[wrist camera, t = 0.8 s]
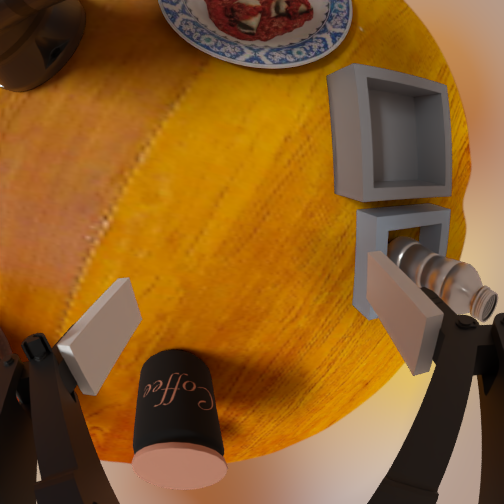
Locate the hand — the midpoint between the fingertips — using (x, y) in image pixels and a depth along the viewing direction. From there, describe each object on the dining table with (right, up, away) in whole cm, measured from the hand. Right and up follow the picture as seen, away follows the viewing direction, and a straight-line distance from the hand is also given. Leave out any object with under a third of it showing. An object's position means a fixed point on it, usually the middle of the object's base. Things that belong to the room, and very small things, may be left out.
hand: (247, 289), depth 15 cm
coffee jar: (-11, -16, +26) cm, 33 cm away
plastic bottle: (+23, +2, +28) cm, 36 cm away
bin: (+18, +18, +21) cm, 33 cm away
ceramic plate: (+1, +36, +12) cm, 38 cm away
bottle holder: (+23, +2, +27) cm, 36 cm away
